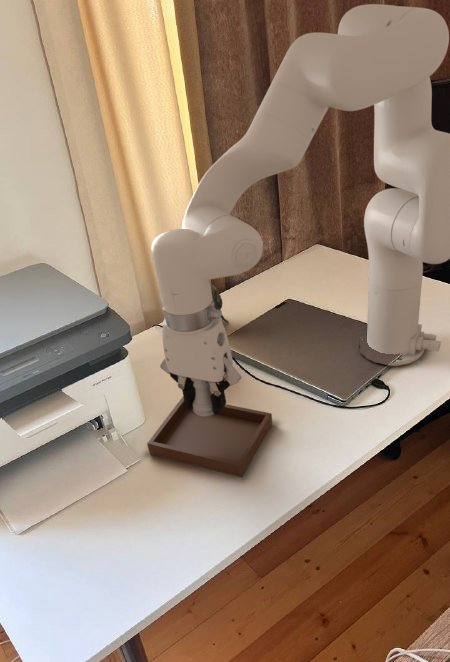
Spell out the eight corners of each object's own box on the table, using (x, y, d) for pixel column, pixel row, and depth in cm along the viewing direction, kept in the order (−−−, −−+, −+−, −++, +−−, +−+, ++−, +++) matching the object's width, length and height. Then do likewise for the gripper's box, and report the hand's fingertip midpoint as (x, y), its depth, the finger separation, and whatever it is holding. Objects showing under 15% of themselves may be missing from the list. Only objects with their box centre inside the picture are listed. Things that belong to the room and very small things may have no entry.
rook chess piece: (189, 416, 106) (181, 378, 101) (199, 399, 109) (192, 362, 104) (214, 419, 104) (207, 381, 99) (223, 403, 107) (217, 365, 102)
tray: (272, 424, 112) (271, 413, 110) (242, 477, 103) (240, 466, 101) (185, 406, 119) (183, 395, 117) (149, 454, 110) (146, 443, 108)
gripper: (250, 307, 94) (260, 402, 105) (153, 294, 101) (172, 384, 112) (229, 334, 89) (242, 430, 100) (129, 318, 95) (151, 410, 107)
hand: (205, 405), depth 106 cm, fingers closed on rook chess piece, 4 cm apart
